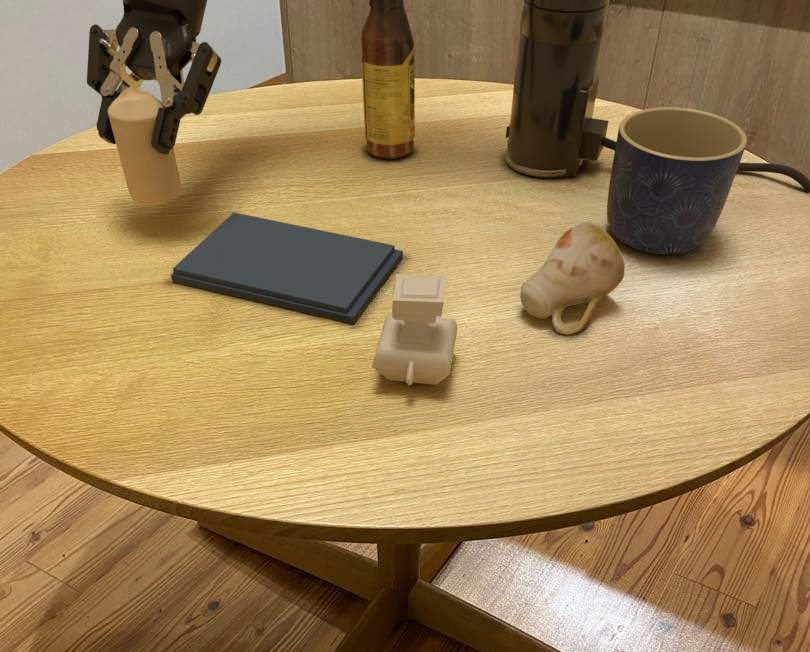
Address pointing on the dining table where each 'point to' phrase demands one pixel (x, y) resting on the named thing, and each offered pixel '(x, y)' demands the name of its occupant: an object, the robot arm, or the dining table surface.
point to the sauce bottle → (388, 80)
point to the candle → (143, 149)
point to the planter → (671, 177)
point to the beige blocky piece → (416, 332)
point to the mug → (574, 276)
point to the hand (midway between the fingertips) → (133, 145)
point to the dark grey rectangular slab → (289, 266)
